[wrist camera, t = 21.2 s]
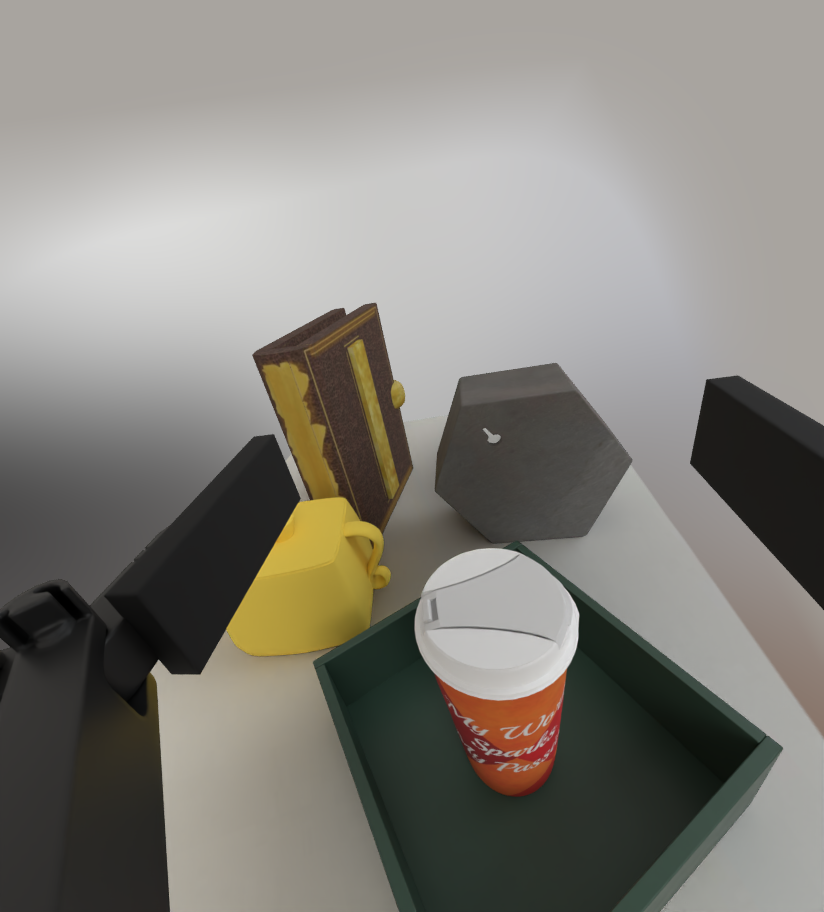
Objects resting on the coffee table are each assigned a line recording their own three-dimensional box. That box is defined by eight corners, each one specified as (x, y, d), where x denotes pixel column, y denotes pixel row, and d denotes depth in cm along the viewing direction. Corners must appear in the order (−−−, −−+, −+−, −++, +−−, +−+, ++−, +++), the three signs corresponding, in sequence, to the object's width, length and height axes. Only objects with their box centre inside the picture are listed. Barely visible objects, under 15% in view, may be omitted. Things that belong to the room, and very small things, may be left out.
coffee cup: (458, 829, 24) (413, 695, 16) (443, 691, 31) (406, 554, 23) (598, 811, 23) (616, 665, 16) (550, 675, 30) (547, 530, 23)
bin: (751, 802, 23) (784, 747, 20) (488, 1117, 17) (469, 1115, 13) (520, 590, 39) (516, 539, 35) (338, 709, 32) (312, 661, 29)
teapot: (193, 675, 37) (125, 591, 32) (238, 575, 48) (193, 499, 42) (398, 643, 36) (368, 550, 30) (398, 548, 47) (374, 466, 41)
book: (380, 557, 46) (313, 348, 34) (317, 553, 49) (234, 358, 36) (424, 457, 64) (391, 296, 52) (376, 458, 67) (334, 306, 54)
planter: (631, 455, 46) (524, 322, 39) (661, 495, 39) (539, 343, 33) (512, 526, 53) (405, 424, 46) (521, 570, 46) (397, 458, 40)
